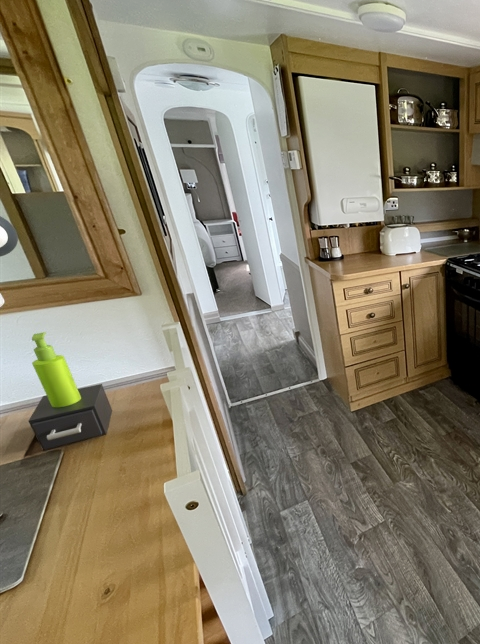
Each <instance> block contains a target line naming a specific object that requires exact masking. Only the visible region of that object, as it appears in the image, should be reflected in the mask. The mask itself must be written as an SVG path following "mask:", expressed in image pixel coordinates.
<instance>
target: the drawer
mask: <svg viewBox="0 0 480 644" xmlns="http://www.w3.org/2000/svg"><path fill="white" fill-rule="evenodd" d="M32 427H33V429H34V431H35V433H36V435H37V437H38V439H39V441H40V443H41V445H42V447H43V449H44V450H45V449H49V448H52V449H54V448H53V447H56V446H60V445H64V444H68V443H71V444H73V443H72V442H75V441H79V440H83V439H87V438H90V439H92V438H91V437H94V436H98V435H102V431H101V428H100V426H99V423H98V421H97V419H96V416H95V414H94V411H93V409H89V410H85V411H81V412H76V413H72V414H68V415H63V416H59V417H55V418H50V419H46V420H42V421H39V422H36V423H33V424H32ZM32 427H31V428H32ZM33 429H32V430H33ZM34 431H33V432H34ZM35 433H34V434H35ZM36 435H35V436H36ZM102 436H103V435H102ZM37 437H36V438H37ZM98 437H99V436H98ZM94 438H95V437H94ZM38 439H37V440H38ZM87 440H88V439H87ZM39 441H38V442H39ZM83 441H84V440H83ZM79 442H80V441H79ZM40 443H39V444H40ZM75 443H76V442H75ZM41 445H40V446H41ZM68 445H69V444H68ZM64 446H65V445H64ZM42 447H41V448H42ZM60 447H61V446H60ZM56 448H57V447H56ZM43 449H42V450H43ZM49 450H50V449H49ZM45 451H46V450H45Z"/></svg>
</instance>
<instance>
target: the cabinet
mask: <svg viewBox="0 0 480 644" xmlns="http://www.w3.org/2000/svg"><path fill="white" fill-rule="evenodd" d="M77 389H78V391H79V393H80V396H81V399H80V400H79V401H78V402H76V403H74V404H71V405H68V406H64V407H52V405H51V403H50V401H49V399H48V397H47V395H46V394H45V395H43V396H42V397H41V399H40V401H39V402H38V404H37V405H36V406H35V409H34V410H33V412H32V414H31V415H30V417H29V419H28V423H29V425H30V427H31V429H32V431H33V433H34V435H35V437H36V439H37V441H38V444H39V445H40V447H41V450H42V451H43V452H45V451H48V450H53V449H57V448H60V447H65V446H67V445H71V444H75V443H78V442H83V441H86V440H90V439H94V438H98V437H102V436H105V435H107V432H108V429H109V425H110V422H111V418H112V417H111V416H112V414H113V409H112V406H111V404H110V401H109V398H108V395H107V393H106V391H105V388H104V386H103V383H100V384H95V385H90V386H86V387H81V388H77ZM89 409H93V411H94V414H95V416H96V419H97V421H98V423H99V426H100V428H101V431H102V435H98V436H94V437H91V438H87V439H83V440H79V441H75V442H72V443H68V444H64V445H60V446H56V447H53V448H49V449H45V450H44V449H43V447H42V445H41V443H40V441H39V439H38V437H37V435H36V433H35V431H34V429H33V427H32V424H33V423H36V422H39V421H42V420H46V419H50V418H55V417H59V416H63V415H68V414H72V413H76V412H81V411H85V410H89Z"/></svg>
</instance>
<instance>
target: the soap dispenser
mask: <svg viewBox="0 0 480 644" xmlns="http://www.w3.org/2000/svg"><path fill="white" fill-rule="evenodd" d="M46 335H47V331H45V332H36V333H34V334H33V335H32V337H31V340H32V342H34V343H35V345H36V347H34V348H33V353H34V354H35V356H36V359H35V360H33V361H32V362H31V364H32V366H33V369H34V371H35V373H36V375H37V377H38V379H39V383H40V384H41V386H42V388H43V390H44V393H45V396H46V395H47V397H48V399H49V401H50V403H51V405H52V407H64V406H68V405H71V404H74V403H76V402H78V401H79V400H80V399H81V396H80V393H79V391H78V389H79V388H78V386H77V384H76V381H75V379H74V377H73V375H72V372H71V370H70V367H69V365H68V363H67V361H66V359H65V356H64V355H62V354H61V355H60V354H57V353H56V352H55V349H54V347H53V345H52V344H51V345H50V344H47V342H46V340H45V336H46Z"/></svg>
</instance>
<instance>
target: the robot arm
mask: <svg viewBox="0 0 480 644" xmlns="http://www.w3.org/2000/svg"><path fill="white" fill-rule="evenodd" d="M18 241H19V236H18V232H17V230H16V227H14V226H13V224H12V223H11V222H10V221H9V220H7V219H6V218H4V217H3V216H1V215H0V257H3V256H6V255H8V254H10V253H12V252H13V251H14V250H15V249H16V247H17V245H18ZM4 304H5V298H4V296H3V295H2V293H1V292H0V308H1V307H2V306H3V305H4Z"/></svg>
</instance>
